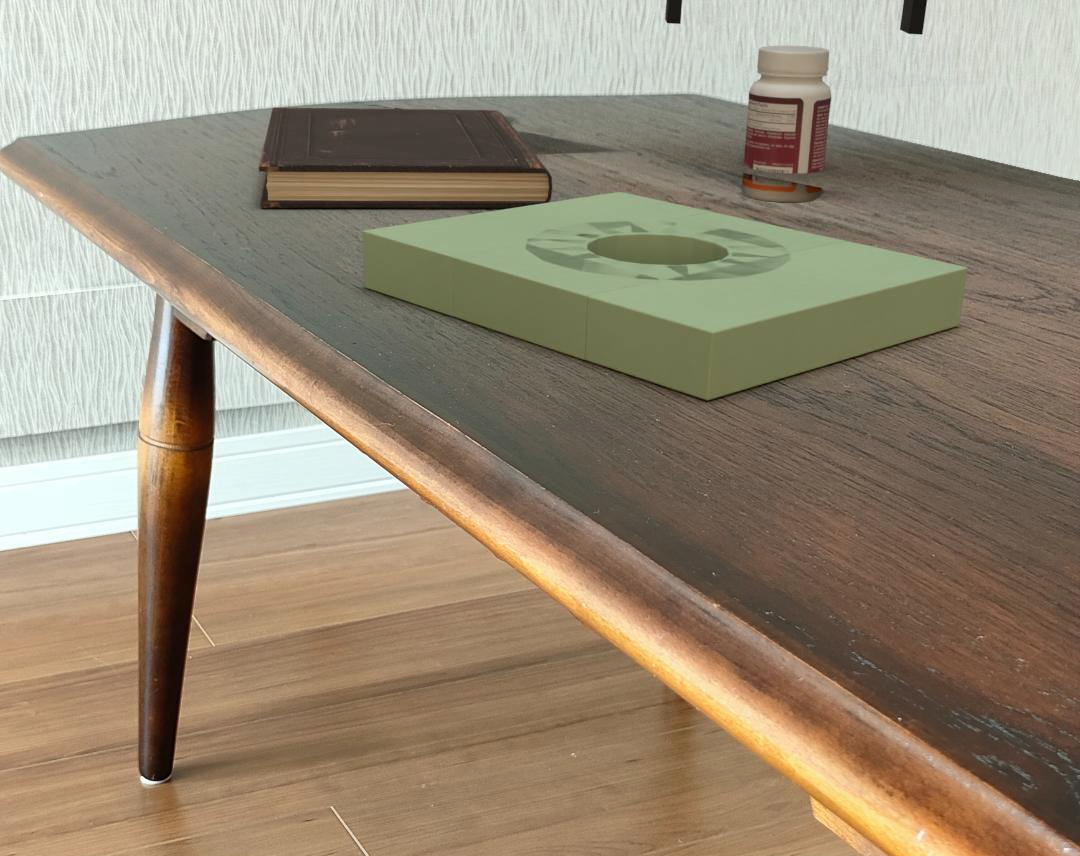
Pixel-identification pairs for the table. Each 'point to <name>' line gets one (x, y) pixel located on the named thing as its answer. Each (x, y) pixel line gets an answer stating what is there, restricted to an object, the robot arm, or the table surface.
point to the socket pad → (666, 288)
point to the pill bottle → (787, 122)
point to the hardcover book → (398, 160)
